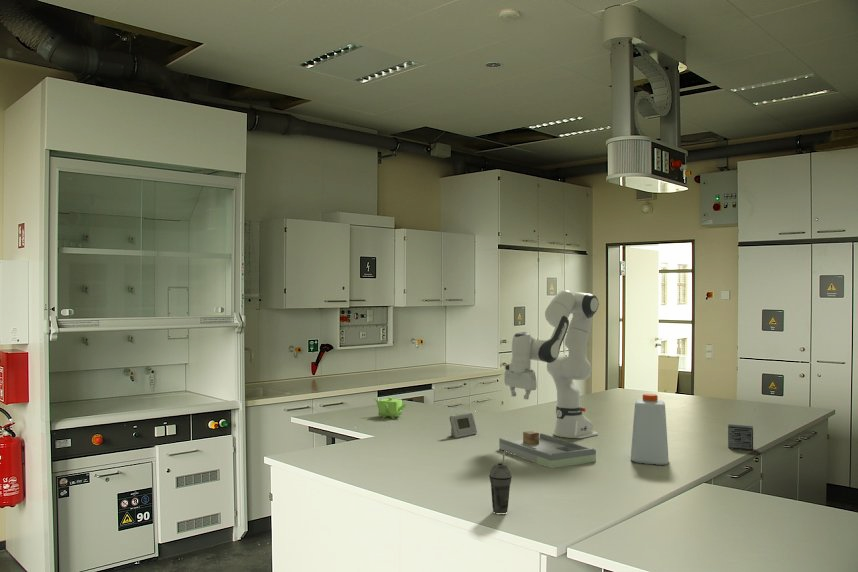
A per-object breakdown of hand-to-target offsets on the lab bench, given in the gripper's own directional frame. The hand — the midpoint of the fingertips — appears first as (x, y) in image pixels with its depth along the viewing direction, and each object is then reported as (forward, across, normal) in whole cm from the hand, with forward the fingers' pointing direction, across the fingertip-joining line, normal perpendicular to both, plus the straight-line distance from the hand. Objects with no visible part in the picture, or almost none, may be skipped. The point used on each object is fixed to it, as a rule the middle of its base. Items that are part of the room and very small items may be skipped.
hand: (519, 397), depth 304 cm
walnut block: (+19, -8, -1) cm, 21 cm away
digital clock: (+23, +31, +10) cm, 40 cm away
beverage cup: (+24, -72, +61) cm, 97 cm away
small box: (+20, -48, -91) cm, 105 cm away
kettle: (+23, +91, +22) cm, 96 cm away
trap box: (+22, -19, -1) cm, 29 cm away
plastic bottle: (+22, -46, -35) cm, 61 cm away
